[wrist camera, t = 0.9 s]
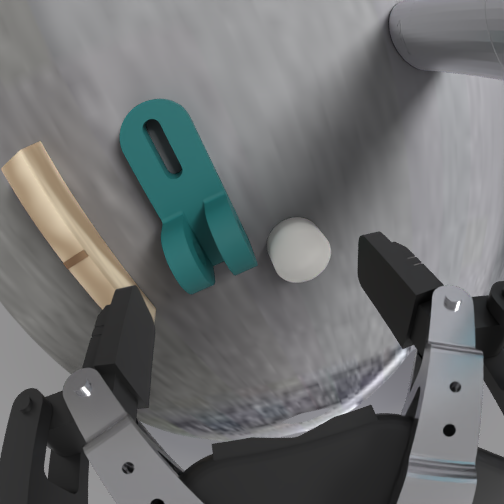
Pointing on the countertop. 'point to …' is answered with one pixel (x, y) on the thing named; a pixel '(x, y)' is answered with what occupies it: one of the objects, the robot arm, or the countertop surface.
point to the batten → (66, 225)
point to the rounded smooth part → (298, 250)
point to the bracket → (186, 197)
